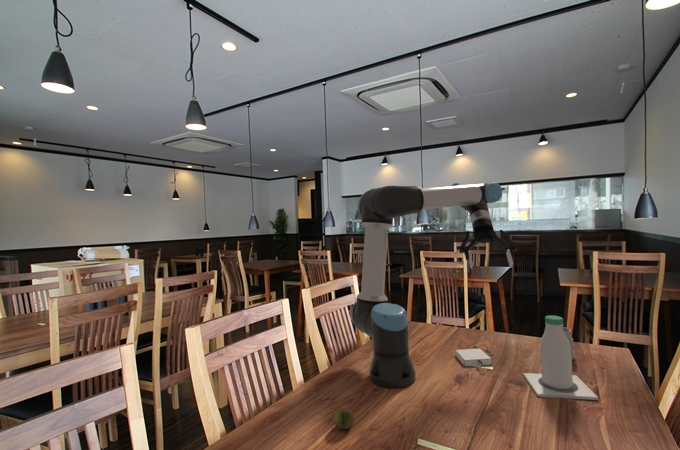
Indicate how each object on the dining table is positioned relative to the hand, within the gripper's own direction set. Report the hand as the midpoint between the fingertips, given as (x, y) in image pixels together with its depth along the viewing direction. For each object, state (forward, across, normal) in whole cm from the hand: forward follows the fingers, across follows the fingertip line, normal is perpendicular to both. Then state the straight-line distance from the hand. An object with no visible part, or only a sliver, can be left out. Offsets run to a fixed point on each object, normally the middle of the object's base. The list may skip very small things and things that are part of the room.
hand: (491, 265), depth 123 cm
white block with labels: (+26, +7, -22) cm, 35 cm away
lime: (+58, +46, +10) cm, 75 cm away
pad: (+38, -13, -9) cm, 41 cm away
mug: (+20, -22, -27) cm, 40 cm away
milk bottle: (+38, -13, -9) cm, 41 cm away
